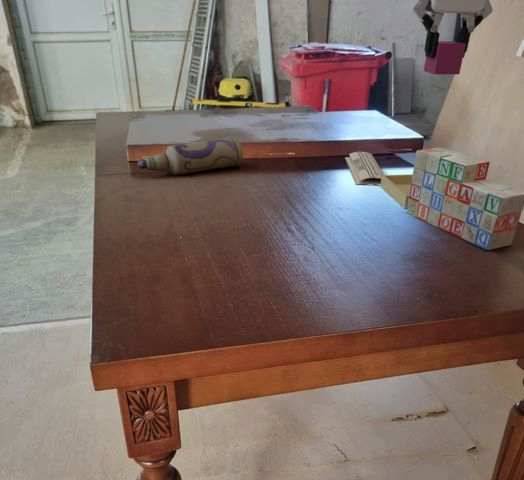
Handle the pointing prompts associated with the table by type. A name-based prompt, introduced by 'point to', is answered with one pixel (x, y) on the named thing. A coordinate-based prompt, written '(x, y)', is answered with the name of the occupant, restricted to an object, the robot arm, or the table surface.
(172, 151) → the decorative bottle
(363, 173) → the newspaper
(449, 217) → the stack of blocks
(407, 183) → the tray
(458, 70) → the mulberry block
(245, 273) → the table surface
